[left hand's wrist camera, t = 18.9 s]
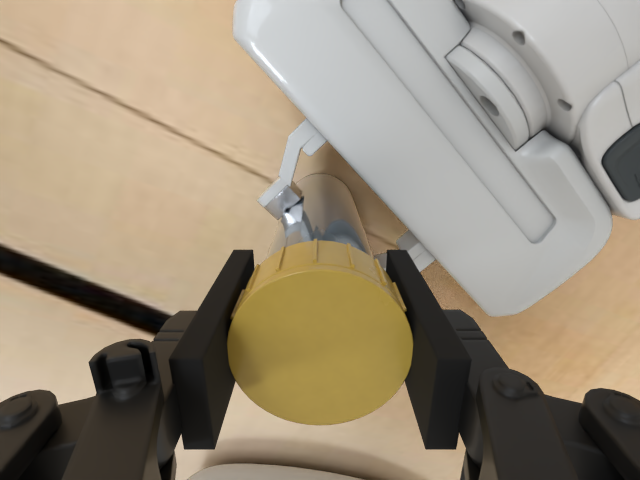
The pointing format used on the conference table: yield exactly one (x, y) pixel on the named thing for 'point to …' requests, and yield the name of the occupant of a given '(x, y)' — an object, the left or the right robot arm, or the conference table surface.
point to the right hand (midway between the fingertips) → (308, 247)
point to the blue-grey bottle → (321, 216)
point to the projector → (264, 473)
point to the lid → (320, 334)
